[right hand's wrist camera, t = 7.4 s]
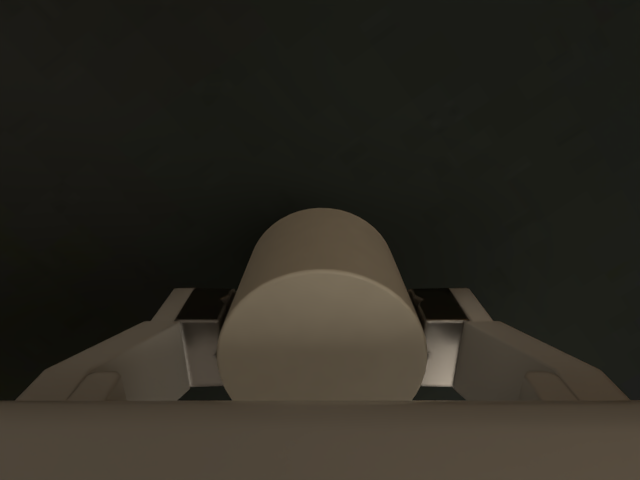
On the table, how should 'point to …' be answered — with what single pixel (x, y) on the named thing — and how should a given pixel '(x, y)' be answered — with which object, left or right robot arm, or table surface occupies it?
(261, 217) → the table surface
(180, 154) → the table surface
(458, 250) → the table surface
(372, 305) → the can
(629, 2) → the table surface
